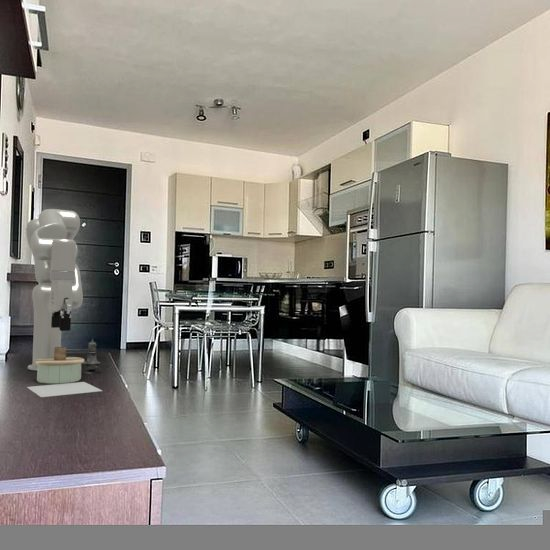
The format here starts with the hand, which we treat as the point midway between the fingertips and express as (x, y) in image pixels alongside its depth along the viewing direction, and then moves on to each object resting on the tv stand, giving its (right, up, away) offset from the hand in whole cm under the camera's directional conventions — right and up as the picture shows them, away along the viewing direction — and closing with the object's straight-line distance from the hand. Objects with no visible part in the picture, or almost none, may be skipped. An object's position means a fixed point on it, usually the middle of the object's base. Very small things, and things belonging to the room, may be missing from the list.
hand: (60, 329), depth 170 cm
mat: (+8, -17, -16) cm, 24 cm away
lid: (0, -11, -1) cm, 11 cm away
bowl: (0, -17, -1) cm, 17 cm away
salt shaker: (+4, -18, +16) cm, 24 cm away
